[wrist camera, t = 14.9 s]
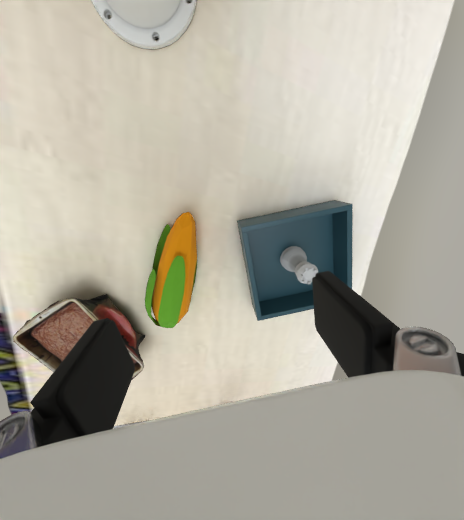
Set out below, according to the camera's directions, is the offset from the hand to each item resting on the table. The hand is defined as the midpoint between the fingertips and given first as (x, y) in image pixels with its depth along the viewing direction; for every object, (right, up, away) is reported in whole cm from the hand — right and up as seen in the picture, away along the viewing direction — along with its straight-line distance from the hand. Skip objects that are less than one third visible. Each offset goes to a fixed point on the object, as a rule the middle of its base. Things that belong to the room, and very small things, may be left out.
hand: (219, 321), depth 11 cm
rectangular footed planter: (-24, -10, +32) cm, 41 cm away
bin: (+11, +3, +30) cm, 32 cm away
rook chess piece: (+11, +3, +30) cm, 32 cm away
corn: (-9, +2, +29) cm, 30 cm away
